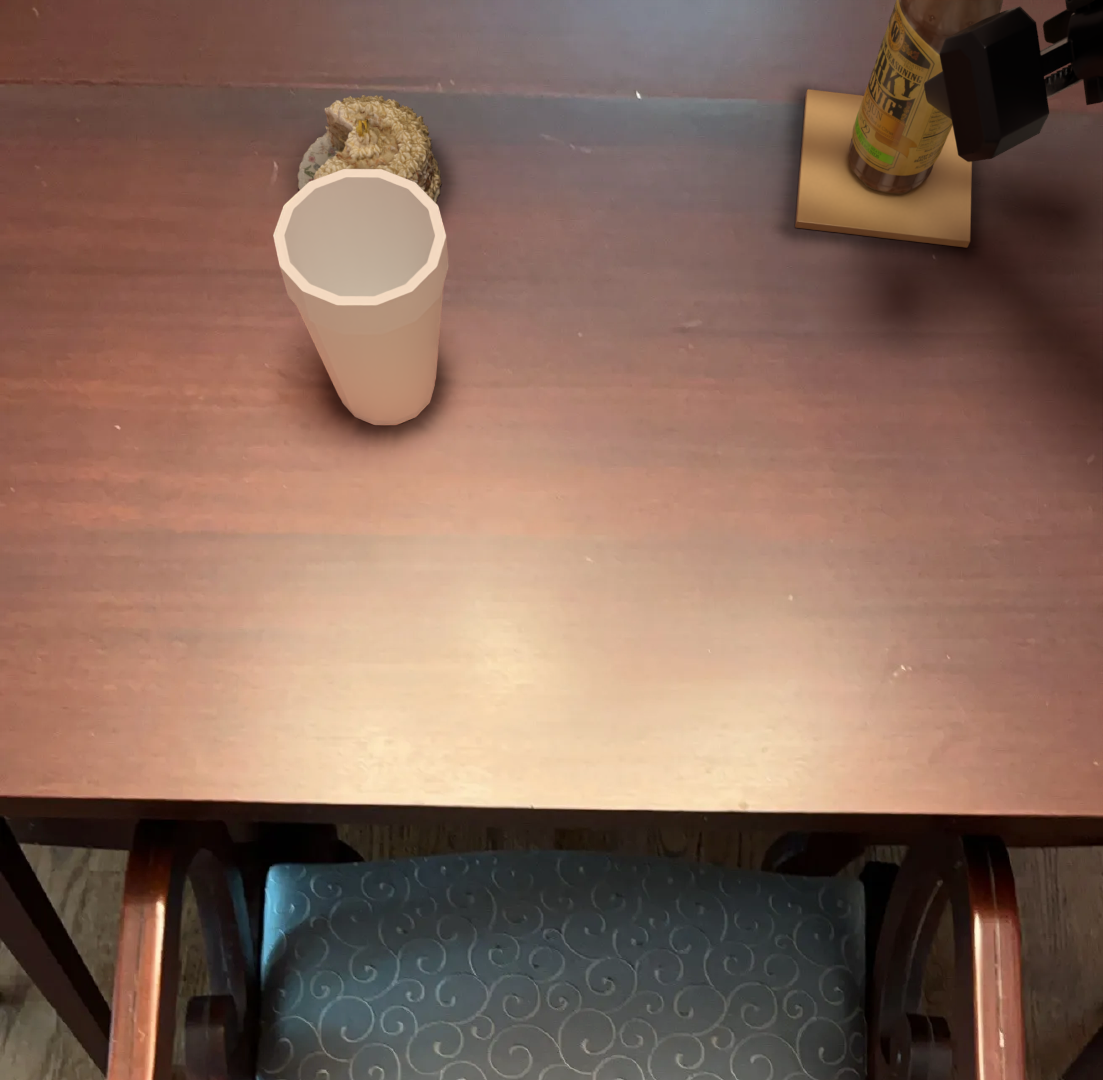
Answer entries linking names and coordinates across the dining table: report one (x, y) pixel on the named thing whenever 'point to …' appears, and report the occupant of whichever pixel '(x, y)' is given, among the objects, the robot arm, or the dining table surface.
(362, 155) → the cake
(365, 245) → the foam cup
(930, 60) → the sauce bottle
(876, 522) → the dining table surface
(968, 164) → the cork mat
